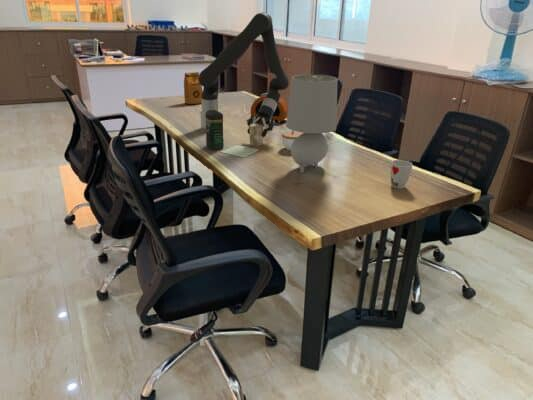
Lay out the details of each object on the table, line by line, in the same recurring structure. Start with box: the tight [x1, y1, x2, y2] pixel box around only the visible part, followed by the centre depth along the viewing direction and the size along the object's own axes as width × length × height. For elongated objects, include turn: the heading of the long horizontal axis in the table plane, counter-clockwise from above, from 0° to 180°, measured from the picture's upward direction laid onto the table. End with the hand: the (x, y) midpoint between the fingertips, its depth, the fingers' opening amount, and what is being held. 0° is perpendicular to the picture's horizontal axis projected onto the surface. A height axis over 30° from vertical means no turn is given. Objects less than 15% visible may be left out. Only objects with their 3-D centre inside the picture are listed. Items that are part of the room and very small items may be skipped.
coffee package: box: [183, 71, 203, 105], centre depth 298 cm, size 10×12×22 cm
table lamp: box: [285, 74, 339, 174], centre depth 179 cm, size 23×22×40 cm
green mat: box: [220, 144, 260, 158], centre depth 207 cm, size 14×14×1 cm
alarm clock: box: [250, 92, 289, 123], centre depth 263 cm, size 23×9×17 cm, turn 68°
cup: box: [390, 159, 413, 190], centre depth 170 cm, size 8×8×10 cm
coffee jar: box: [205, 110, 224, 151], centre depth 208 cm, size 10×8×19 cm
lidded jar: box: [281, 130, 303, 152], centre depth 211 cm, size 11×11×9 cm
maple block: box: [249, 123, 264, 147], centre depth 216 cm, size 5×5×10 cm
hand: (255, 135), depth 215 cm, fingers open, 8 cm apart
